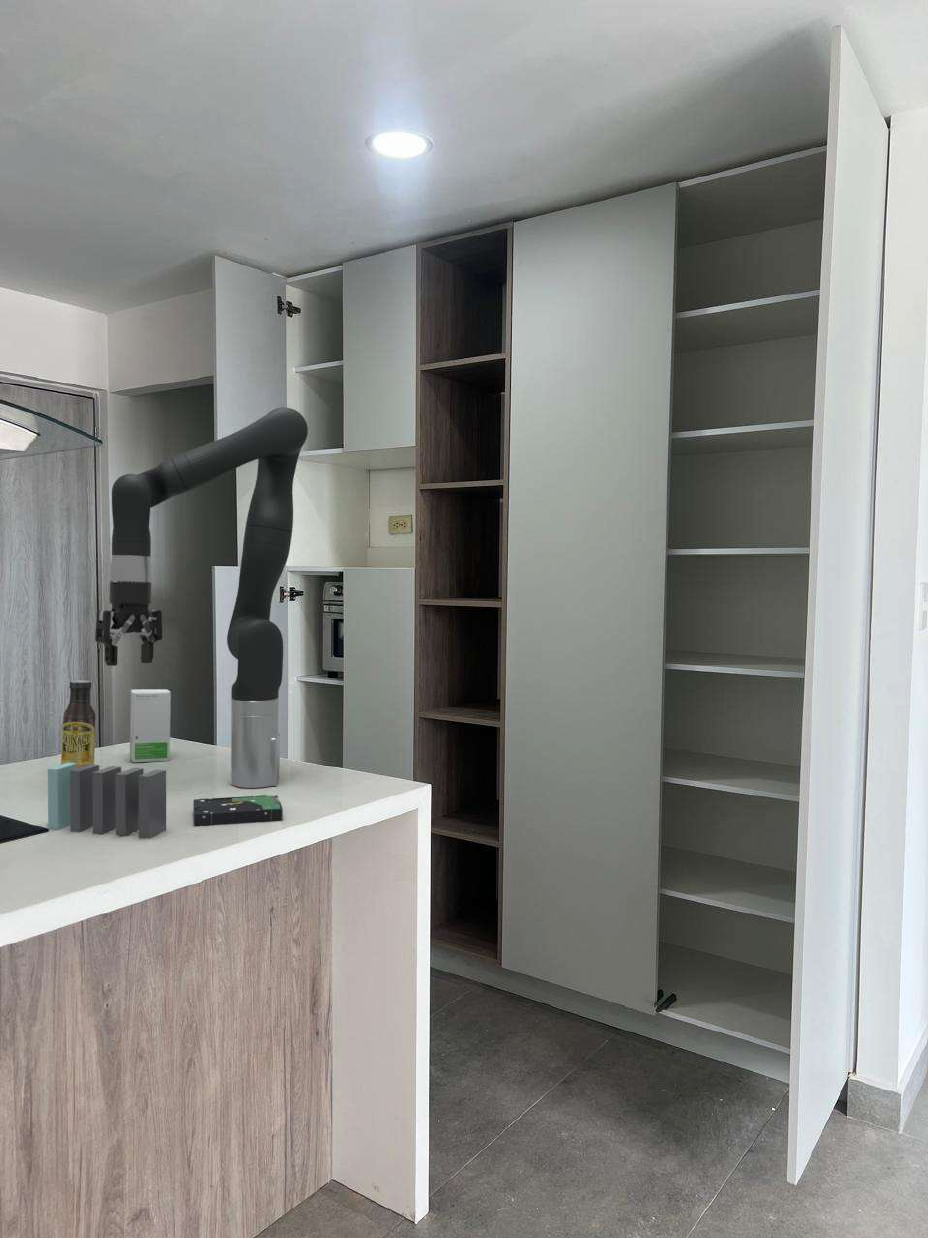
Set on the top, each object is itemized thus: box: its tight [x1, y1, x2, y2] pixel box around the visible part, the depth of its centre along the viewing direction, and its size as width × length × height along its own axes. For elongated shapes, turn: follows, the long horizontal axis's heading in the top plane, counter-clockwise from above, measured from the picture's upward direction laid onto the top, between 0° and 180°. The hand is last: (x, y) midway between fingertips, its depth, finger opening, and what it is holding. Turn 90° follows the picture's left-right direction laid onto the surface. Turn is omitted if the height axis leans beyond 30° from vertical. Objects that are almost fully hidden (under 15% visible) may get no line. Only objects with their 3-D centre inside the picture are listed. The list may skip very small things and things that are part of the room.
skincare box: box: [129, 688, 172, 763], centre depth 204 cm, size 8×7×16 cm
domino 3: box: [92, 765, 122, 835], centre depth 149 cm, size 2×5×10 cm, turn 166°
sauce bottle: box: [60, 679, 96, 768], centre depth 185 cm, size 7×6×20 cm
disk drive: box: [192, 794, 284, 827], centre depth 159 cm, size 10×3×15 cm
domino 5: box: [138, 768, 167, 839], centre depth 147 cm, size 2×5×10 cm, turn 166°
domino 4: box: [115, 767, 145, 837], centre depth 148 cm, size 2×5×10 cm, turn 166°
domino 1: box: [47, 763, 77, 831], centre depth 151 cm, size 2×5×10 cm, turn 166°
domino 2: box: [69, 764, 100, 833], centre depth 150 cm, size 2×5×10 cm, turn 166°
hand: (129, 664), depth 175 cm, fingers open, 8 cm apart
